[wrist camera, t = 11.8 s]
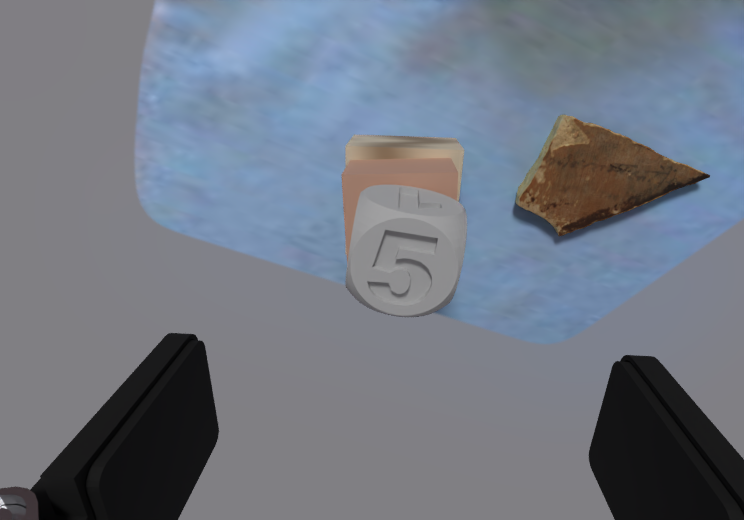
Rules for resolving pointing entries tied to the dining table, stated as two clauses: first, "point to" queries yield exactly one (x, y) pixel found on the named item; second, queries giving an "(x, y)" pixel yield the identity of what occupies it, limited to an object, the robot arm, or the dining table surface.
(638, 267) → the dining table surface
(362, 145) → the tower base
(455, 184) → the tower top
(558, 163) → the shard
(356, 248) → the die
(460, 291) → the dining table surface
